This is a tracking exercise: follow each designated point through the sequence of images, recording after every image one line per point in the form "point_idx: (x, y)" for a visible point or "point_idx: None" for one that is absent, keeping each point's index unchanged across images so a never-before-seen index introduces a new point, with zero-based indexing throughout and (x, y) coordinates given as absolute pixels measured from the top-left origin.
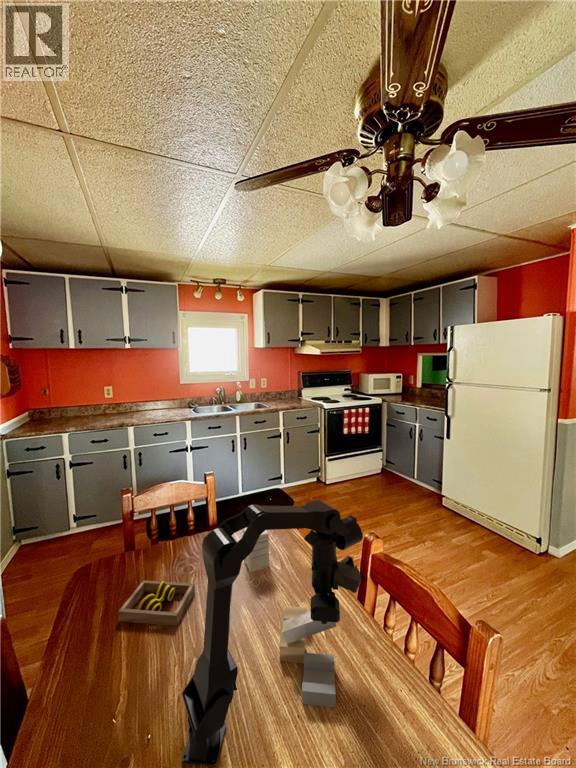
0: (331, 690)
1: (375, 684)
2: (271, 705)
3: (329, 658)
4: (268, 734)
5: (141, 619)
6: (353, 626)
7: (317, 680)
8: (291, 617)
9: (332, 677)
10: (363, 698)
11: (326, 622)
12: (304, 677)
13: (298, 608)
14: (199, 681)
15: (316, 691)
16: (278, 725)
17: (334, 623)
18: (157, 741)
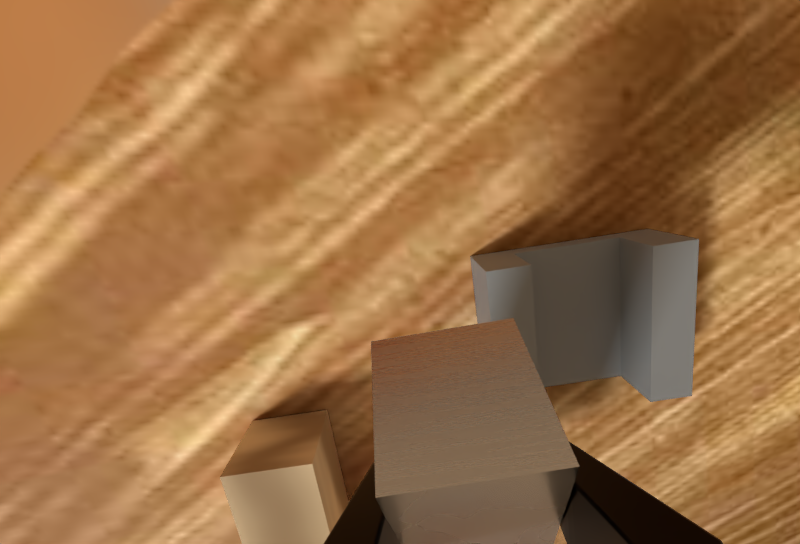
0: (680, 261)
1: (519, 32)
2: (660, 462)
3: (509, 293)
4: (750, 446)
5: None
6: (198, 171)
7: (567, 323)
8: (321, 535)
9: (542, 258)
10: (595, 99)
11: (571, 447)
12: (562, 379)
13: (244, 516)
14: None
15: (691, 332)
16: (722, 424)
17: (527, 354)
18: None
